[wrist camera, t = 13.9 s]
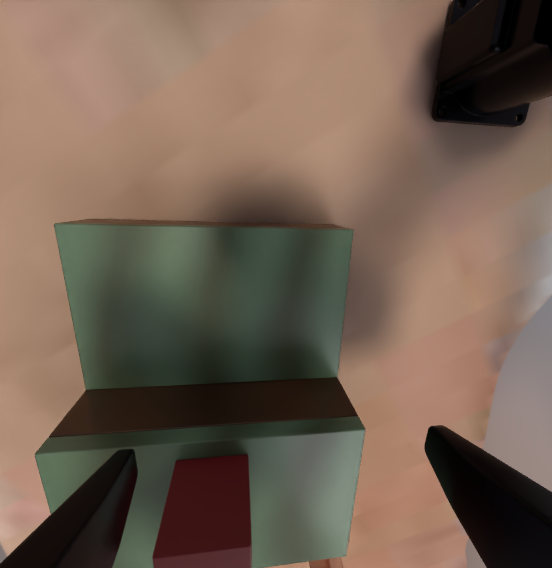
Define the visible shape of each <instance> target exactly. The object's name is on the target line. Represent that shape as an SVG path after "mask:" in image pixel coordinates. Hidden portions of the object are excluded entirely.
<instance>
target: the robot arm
mask: <svg viewBox="0 0 552 568" xmlns="http://www.w3.org/2000/svg"><path fill="white" fill-rule="evenodd" d="M459 3H460V4H461V8H460V7H459ZM436 79H437V85H436V91H435V97H434V103H433V109H432V118H433V120H434V121H437V122H447V123H460V124H473V125H486V126H500V127H516V126H520V125H521V124H523V123H524V121H525V119H526V116H527V112H528V108H529V104H530V103H531V102H534V101H537V100H540V99H543V98H546V97H549V96H552V0H453V1H452V2H451V4H450V8H449V14H448V20H447V26H446V31H445V32H444V36H443V42H442V48H441V54H440V60H439V66H438V72H437V78H436ZM440 109H442V111H443V114H442V115H440V112H439V111H440ZM516 116H517V121H516ZM425 452H426V455H427V457H428V459H429V461H430V463H431V465H432V468H433V470H434V472H435V474H436V476H437V478H438V480H439V482H440V484H441V486H442V488H443V490H444V492H445V495H446V497H447V499H448V501H449V503H450V505H451V506H452V508H453V510H454V512H455V514H456V516H457V517H458V519H459V521H460V523H461V524H462V526H463V528H464V529H465V531H466V533H467V535H468V536H469V538H470V539H471V541H472V543H473V545H474V546H475V548H476V550H477V552H478V553H479V555H480V557H481V558H482V560H483V562H484V563H485V565H486V567H487V568H552V492H551V491H549V490H547V489H546V488H544V487H543V486H541V485H539V484H538V483H536V482H534V481H533V480H531V479H530V478H528V477H526V476H525V475H523V474H521V473H520V472H518V471H517V470H515V469H513V468H511V467H510V466H508V465H507V464H505V463H503V462H502V461H500V460H499V459H497V458H495V457H494V456H492V455H491V454H489V453H487V452H486V451H484V450H482V449H481V448H479V447H478V446H476V445H474V444H473V443H471V442H469V441H468V440H466V439H464V438H463V437H461V436H460V435H458V434H456V433H455V432H453V431H451V430H450V429H448V428H447V427H445V426H442V425H438V426H430V427H429V429H428V433H427V437H426V441H425ZM137 476H138V468H137V462H136V456H135V451H134V449H120V450H118V451H116V452H115V453H114V454H113V455H112V456H111V457H110V458H109V459H108V460H107V461H106V462H105V463H104V464H103V465H102V466H100V467H99V468H98V469H97V470H96V471H95V472H94V473H93V474H92V475H91V476H90V477H89V478H88V479H87V480H86V481H85V482H84V483H83V484H82V485H81V486H80V487H79V488H78V489H77V490H76V491H75V492H74V493H73V494H72V495H71V496H70V497H69V498H67V499H66V500H65V501H64V502H63V503H62V504H61V505H60V506H59V507H58V508H57V509H56V510H55V511H54V512H53V513H52V514H51V515H50V516H49V517H48V518H47V519H46V520H45V521H44V522H43V523H42V524H41V525H40V526H39V527H38V528H37V529H36V530H35V531H33V532H32V533H31V534H30V535H29V536H28V537H27V538H26V539H25V540H24V541H23V542H22V543H21V544H20V545H19V546H18V547H17V548H16V549H15V550H14V551H13V552H12V553H11V554H10V555H9V556H8V557H7V558H6V559H5V560H4V561H3V562H2V563H0V568H112V567H113V564H114V561H115V559H116V556H117V552H118V549H119V546H120V543H121V539H122V536H123V532H124V528H125V524H126V520H127V516H128V512H129V509H130V505H131V501H132V497H133V493H134V489H135V485H136V481H137Z"/></svg>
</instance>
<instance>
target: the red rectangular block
mask: <svg viewBox="0 0 552 568" xmlns="http://www.w3.org/2000/svg"><path fill="white" fill-rule="evenodd" d="M152 560H153V567H154V568H252V535H251V507H250V478H249V456H248V454H244V455H232V456H220V457H208V458H196V459H184V460H176V462H175V466H174V470H173V474H172V478H171V482H170V486H169V490H168V494H167V499H166V503H165V507H164V511H163V515H162V519H161V523H160V527H159V531H158V535H157V539H156V543H155V547H154V552H153V556H152Z"/></svg>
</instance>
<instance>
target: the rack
mask: <svg viewBox="0 0 552 568" xmlns="http://www.w3.org/2000/svg"><path fill="white" fill-rule="evenodd" d="M54 227H55V232H56V237H57V242H58V247H59V253H60V258H61V263H62V268H63V273H64V279H65V284H66V289H67V294H68V299H69V305H70V310H71V315H72V320H73V325H74V330H75V336H76V341H77V346H78V351H79V356H80V362H81V367H82V372H83V377H84V382H85V388H86V391H85V392H84V394H83V395H82V396H81V397H80V399H79V400H78V401H77V402H76V404H75V405H74V406H73V407H72V408H71V410H70V411H69V412H68V413H67V415H66V416H65V417H64V418H63V420H62V421H61V422H60V423H59V425H58V426H57V427H56V428H55V430H54V431H53V432H52V433H51V435H50V436H49V438H48V439H47V440H46V441H45V442H44V443H43V445H42V446H41V447H40V448H39V450H38V451H37V452H36V453H35V458H36V462H37V466H38V469H39V473H40V476H41V480H42V484H43V487H44V491H45V494H46V498H47V502H48V505H49V509H50V513H51V514H52V513H53V512H54V511H55V510H56V509H57V508H58V507H59V506H60V505H61V504H62V503H63V502H64V501H65V500H66V499H67V498H69V497H70V496H71V495H72V494H73V493H74V492H75V491H76V490H77V489H78V488H79V487H80V486H81V485H82V484H83V483H84V482H85V481H86V480H87V479H88V478H89V477H90V476H91V475H92V474H93V473H94V472H95V471H96V470H97V469H98V468H99V467H100V466H102V465H103V464H104V463H105V462H106V461H107V460H108V459H109V458H110V457H111V456H112V455H113V454H114V453H115V452H116V451H118V450H120V449H134V451H135V456H136V462H137V468H138V476H137V481H136V485H135V489H134V493H133V497H132V501H131V505H130V509H129V512H128V516H127V520H126V524H125V528H124V532H123V536H122V539H121V543H120V546H119V549H118V552H117V556H116V559H115V561H114V564H113V567H112V568H154V567H153V560H152V556H153V552H154V547H155V543H156V539H157V535H158V531H159V527H160V523H161V519H162V515H163V511H164V507H165V503H166V499H167V494H168V490H169V486H170V482H171V478H172V474H173V470H174V466H175V462H176V460H184V459H196V458H208V457H220V456H232V455H244V454H248V456H249V478H250V507H251V535H252V568H263V567H271V566H278V565H285V564H293V563H300V562H307V561H315V560H322V559H329V558H337V557H344V556H346V553H347V547H348V540H349V534H350V527H351V521H352V514H353V508H354V501H355V495H356V488H357V482H358V475H359V469H360V462H361V456H362V449H363V443H364V436H365V428H364V426H363V424H362V422H361V420H360V418H359V417H358V415H357V413H356V411H355V409H354V407H353V406H352V404H351V402H350V400H349V398H348V396H347V395H346V393H345V391H344V389H343V387H342V385H341V384H340V382H339V380H338V378H337V376H338V367H339V358H340V349H341V340H342V331H343V322H344V312H345V303H346V294H347V285H348V276H349V267H350V258H351V249H352V240H353V230H352V229H349V228H345V227H341V226H337V225H327V224H284V223H240V222H197V221H154V220H110V219H86V220H78V221H70V222H62V223H55V224H54Z"/></svg>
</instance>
